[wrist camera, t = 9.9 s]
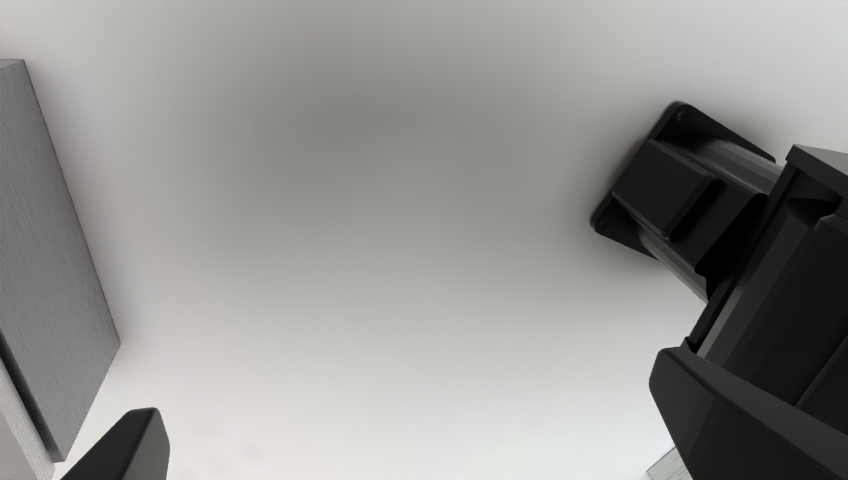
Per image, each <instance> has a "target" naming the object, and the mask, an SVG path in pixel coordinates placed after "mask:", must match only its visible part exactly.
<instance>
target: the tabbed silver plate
mask: <svg viewBox="0 0 848 480" xmlns="http://www.w3.org/2000/svg"><path fill="white" fill-rule="evenodd" d="M54 471H55V466H54V464H53V462H52V460H51V458H50V456H49V454H48V452H47V450H46V448H45V446H44V444H43V442H42V440H41V438H40V436H39V434H38V432H37V430H36V428H35V426H34V424H33V422H32V420H31V418H30V416H29V414H28V412H27V410H26V408H25V406H24V404H23V402H22V400H21V398H20V396H19V394H18V392H17V390H16V388H15V386H14V384H13V382H12V380H11V378H10V376H9V374H8V372H7V370H6V368H5V366H4V364H3V362H2V360H1V358H0V480H51V479H52V476H53V473H54Z"/></svg>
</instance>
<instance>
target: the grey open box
mask: <svg viewBox="0 0 848 480" xmlns="http://www.w3.org/2000/svg"><path fill="white" fill-rule="evenodd" d="M119 346H120V342H119V339H118V336H117V333H116V330H115V327H114V324H113V321H112V318H111V315H110V312H109V309H108V306H107V304H106V301H105V298H104V295H103V292H102V289H101V286H100V283H99V280H98V277H97V274H96V271H95V269H94V266H93V263H92V260H91V257H90V254H89V251H88V248H87V245H86V242H85V239H84V236H83V234H82V231H81V228H80V225H79V222H78V219H77V216H76V213H75V210H74V207H73V204H72V201H71V199H70V196H69V193H68V190H67V187H66V184H65V181H64V178H63V175H62V172H61V169H60V166H59V164H58V161H57V158H56V155H55V152H54V149H53V146H52V143H51V140H50V137H49V134H48V131H47V128H46V126H45V123H44V120H43V117H42V114H41V111H40V108H39V105H38V102H37V99H36V96H35V93H34V91H33V88H32V85H31V82H30V79H29V76H28V73H27V70H26V67H25V64H24V61H23V60H0V358H1V360H2V362H3V364H4V366H5V368H6V370H7V372H8V374H9V376H10V378H11V380H12V382H13V384H14V386H15V388H16V390H17V392H18V394H19V396H20V398H21V400H22V402H23V404H24V406H25V408H26V410H27V412H28V414H29V416H30V418H31V420H32V422H33V424H34V426H35V428H36V430H37V432H38V434H39V436H40V438H41V440H42V442H43V444H44V446H45V448H46V450H47V452H48V454H49V456H50V458H51V460H52V462H53V463H57V462H65V460H66V458H67V456H68V454H69V452H70V450H71V447H72V445H73V443H74V441H75V439H76V437H77V435H78V433H79V431H80V428H81V426H82V424H83V422H84V420H85V418H86V416H87V414H88V412H89V410H90V407H91V405H92V403H93V401H94V399H95V397H96V395H97V393H98V391H99V388H100V386H101V384H102V382H103V380H104V378H105V376H106V374H107V372H108V370H109V367H110V365H111V363H112V361H113V359H114V357H115V355H116V353H117V351H118V348H119Z"/></svg>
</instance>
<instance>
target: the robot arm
mask: <svg viewBox="0 0 848 480" xmlns="http://www.w3.org/2000/svg"><path fill="white" fill-rule="evenodd" d="M681 111H683V114H682V116H681V117H680V118H678V119H677V116H678V114H679V113H680V112H681ZM785 160H786V161H788V162H787V163H786V165H785V167H784V168H783V167H781V166H779V165H777V164H776V161H775V158H774V157H772V156H771V155H769V154H768V153H766V152H764V151H763V150H761V149H760V148H758V147H757V146H755V145H753V144H752V143H750V142H749V141H747V140H745V139H744V138H742V137H741V136H739V135H737V134H736V133H734V132H733V131H731V130H730V129H728V128H726V127H725V126H723V125H722V124H720V123H718V122H717V121H715V120H714V119H712V118H711V117H709V116H707V115H706V114H704V113H703V112H701V111H699V110H698V109H696V108H695V107H693V106H691V105H689V104H687V103H685V102H682V101H681V102H676V103H675V104H673V105H672V106H671V107H670V108H669V109H668V111H667V112H666V113H665V115H664V116H663V118H662V119H661V120H660V122H659V123H658V125H657V126H656V128H655V129H654V130H653V132H652V133H651V135H650V136H649V137H648V139H647V140H646V142H645V143H644V144H643V146H642V147H641V149H640V150H639V152H638V153H637V154H636V156H635V157H634V159H633V160H632V161H631V163H630V164H629V166H628V167H627V168H626V170H625V171H624V173H623V174H622V175H621V177H620V178H619V180H618V181H617V183H616V184H615V185H614V187H613V188H612V190H611V191H610V192H609V194H608V195H607V197H606V198H605V199H604V201H603V202H602V204H601V205H600V206H599V208H598V209H597V211H596V212H595V214H594V215H593V216H592V218H591V221H590V225H591V227H592V228H593V229H594V230H595V231H596V232H597V233H599V234H601V235H603V236H605V237H607V238H610V239H612V240H614V241H616V242H619V243H621V244H623V245H625V246H627V247H630V248H632V249H634V250H636V251H639V252H641V253H643V254H645V255H647V256H650V257H652V258H654V259H656V260H659V261H661V262H662V263H663V264H664V265H665V266H666V267H667V268H668V269H669V270H670V271H671V272H672V273H673V274H675V275H676V276H677V277H678V278H679V279H680V280H681V281H682V282H683V283H684V284H685V285H686V286H687V287H688V288H690V289H691V290H692V291H693V292H694V293H695V294H696V295H697V296H698V297H699V298H700V299H701V300H702V301H704V302H705V303H706V304H707V305H706V307H705V309H704V310H703V312H702V314H701V316H700V317H699V319H698V321H697V323H696V325H695V326H694V328H693V330H692V332H691V333H690V335H689V336H688V337H685V338H684V340H683V342H682V344H681V346H680V347H673V348H664V349H661V350H660V351H659V352H658V354H657V357H656V360H655V363H654V366H653V369H652V372H651V375H650V378H649V388H650V392H651V394H652V396H653V399H654V401H655V403H656V405H657V407H658V409H659V412H660V414H661V416H662V418H663V420H664V422H665V425H666V427H667V429H668V431H669V433H670V435H671V438H672V440H673V442H674V444H675V446H676V448H677V450H678V453H679V455H680V457H681V459H682V461H683V463H684V465H685V467H686V468H687V470H688V472H689V474H690V476H691V477H692V479H693V480H848V154H846V153H841V152H836V151H830V150H825V149H819V148H814V147H808V146H803V145H797V144H793V146H792V148H791V150H790V151H789V153H788V155H787V157H786V158H785ZM605 219H606V220H605ZM602 220H605V222H604V223H603V224H602V225H599V224H600V222H601V221H602ZM169 455H170V444H169V439H168V436H167V433H166V430H165V427H164V424H163V420H162V417H161V414H160V412H159V410H158V409H157V408H154V407H151V408H142V409H133V410H130V411H129V412H127V413H126V414H125V415H124V416H123V417H122V418H121V419H120V420H119V421H118V422H117V423H116V424H115V425H114V426H113V427H112V428H111V429H110V430H109V431H108V432H107V433H106V434H105V435H104V436H103V437H102V438H101V439H100V440H99V441H98V442H97V443H96V444H95V445H94V446H93V447H92V448H91V449H90V450H89V451H88V452H87V453H86V454H85V455H84V456H83V457H82V458H81V459H80V460H79V461H78V462H77V463H76V464H75V465H74V466H73V467H72V468H71V469H70V470H69V471H68V472H67V473H66V474H65V475H64V476H63V477H62V478H61V479H60V480H166V476H167V469H168V462H169Z"/></svg>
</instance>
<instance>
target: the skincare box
mask: <svg viewBox="0 0 848 480" xmlns="http://www.w3.org/2000/svg"><path fill="white" fill-rule="evenodd" d="M647 473H648V475H649V476H650V478H651V479H652V480H693V479H692V477H691V476H690V474H689V472H688V470H687V468H686V467H685V465H684V463H683V461H682V459H681V457H680V455H679V453H678V450H677V448H676V447H675V448H674V449H673V450H672V451H670V452H669V453H668V454H667V455H665V456H664V457H663V458H662V459H661V460H659V461H658V462H657V463H656V464H655V465H654V466H652V467H651V468H650V469H649V470H648V472H647Z"/></svg>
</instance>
